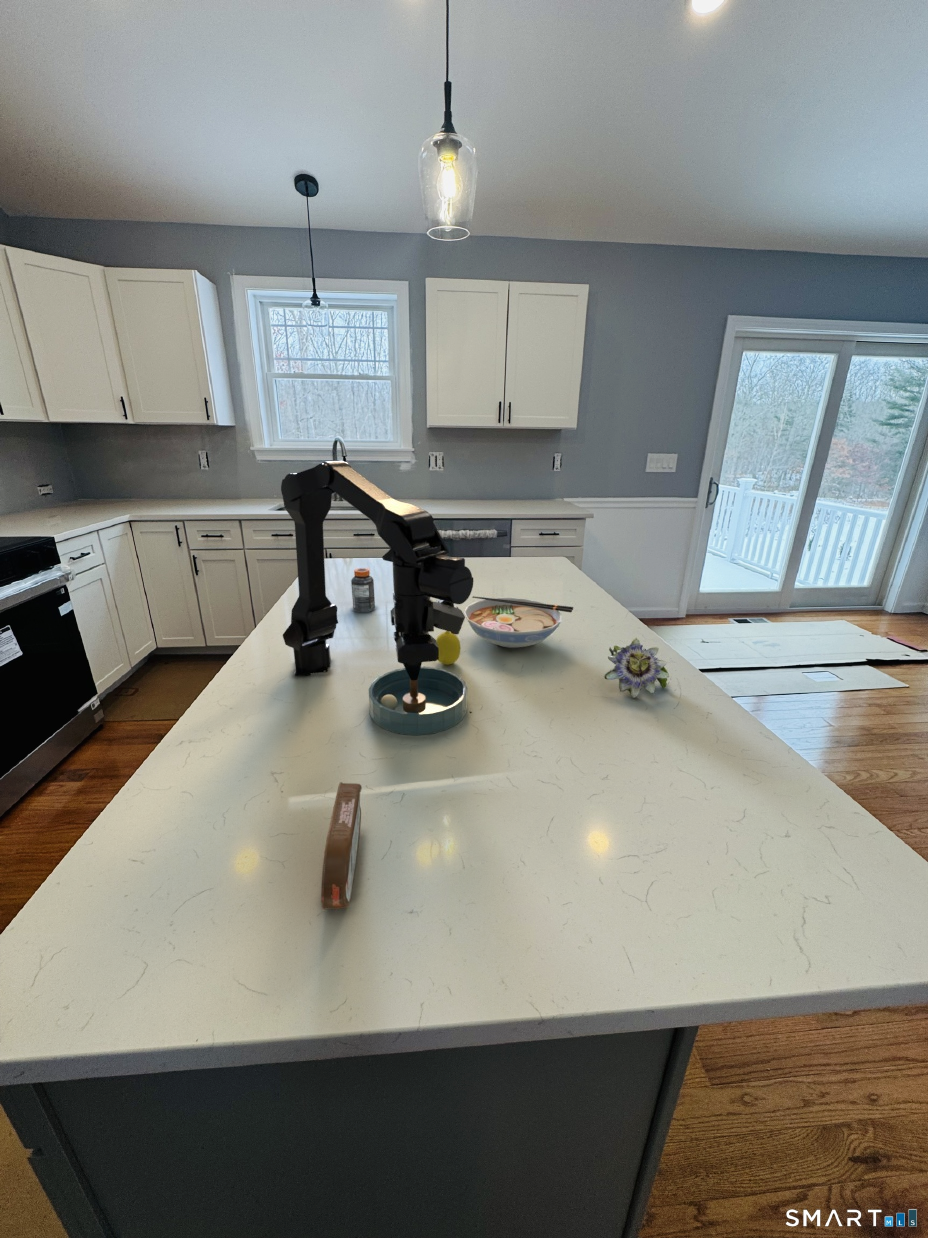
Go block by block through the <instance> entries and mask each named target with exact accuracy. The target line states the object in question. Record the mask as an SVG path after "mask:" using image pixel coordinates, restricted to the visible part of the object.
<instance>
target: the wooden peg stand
mask: <svg viewBox="0 0 928 1238" xmlns="http://www.w3.org/2000/svg"><path fill="white" fill-rule="evenodd" d="M425 709H426V697H425V696H424V695H423V694H421V693H418V679H417V680H411V679H410V693H409V694H406V695H405V696H404V697H403V710H404V711H405V712H408V713H421V712H423V711H424V710H425Z"/></svg>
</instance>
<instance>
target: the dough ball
mask: <svg viewBox="0 0 928 1238" xmlns="http://www.w3.org/2000/svg"><path fill="white" fill-rule="evenodd" d="M380 704H381V705H382V706H384V707H387V708H389V709H392V710H394V709H395V708H396V707H397V699H396V698H395V697H394V696H393V695H385V696H383V697H382V699H381V701H380Z"/></svg>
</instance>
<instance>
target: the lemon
mask: <svg viewBox="0 0 928 1238" xmlns="http://www.w3.org/2000/svg"><path fill="white" fill-rule="evenodd" d="M435 640H436V642H437V645H438V648H439V660H437V661H438V662H439V663H441V664H442V665H445V666H449V665H452V664H455V662H457V661H458V660H459V658H460V656H461V641H460V639H459V637H458V635H456V634H452V633H451V632H449V631H446V630H445V631H444V632H442V633H440V634H439V635H438V636H437V637H436V638H435Z"/></svg>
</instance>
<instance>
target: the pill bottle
mask: <svg viewBox="0 0 928 1238" xmlns="http://www.w3.org/2000/svg"><path fill="white" fill-rule="evenodd" d="M370 574H371V572H370V569H369V568H368V567H359V568H355V569H354V572H353V575H354V576H353V577H352V578H351V580H350V583H351V584H350V585H351V595H352V596H351V597H352V609H353V611H355V612H358V613H370V612H372V611H374V610H375V608H376V599H375V598H376V597H375V583H374V581H375V580H374V578H373V576H371V575H370Z"/></svg>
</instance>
